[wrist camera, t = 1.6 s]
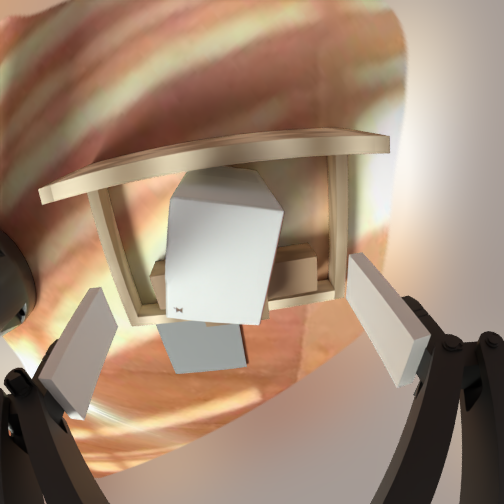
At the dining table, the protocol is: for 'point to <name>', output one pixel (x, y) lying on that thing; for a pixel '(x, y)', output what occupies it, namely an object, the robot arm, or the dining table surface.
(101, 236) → the tray
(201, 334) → the mat
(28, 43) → the dining table surface
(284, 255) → the offcut
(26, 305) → the robot arm
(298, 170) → the dining table surface
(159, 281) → the offcut
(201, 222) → the small box
